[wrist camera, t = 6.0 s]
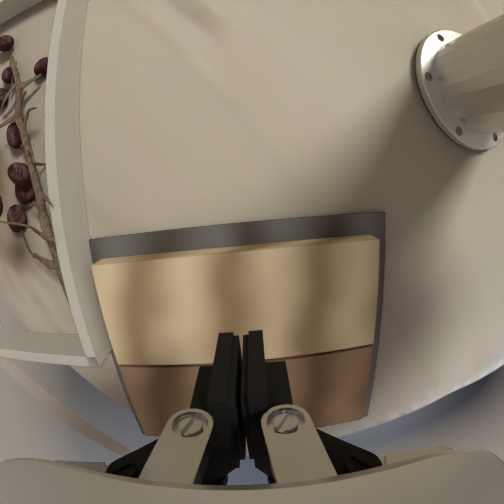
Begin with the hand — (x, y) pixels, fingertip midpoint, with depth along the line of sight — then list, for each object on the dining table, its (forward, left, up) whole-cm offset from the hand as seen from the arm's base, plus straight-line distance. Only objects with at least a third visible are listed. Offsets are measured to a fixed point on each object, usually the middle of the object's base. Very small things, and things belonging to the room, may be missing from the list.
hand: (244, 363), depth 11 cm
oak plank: (+1, +3, -13) cm, 13 cm away
